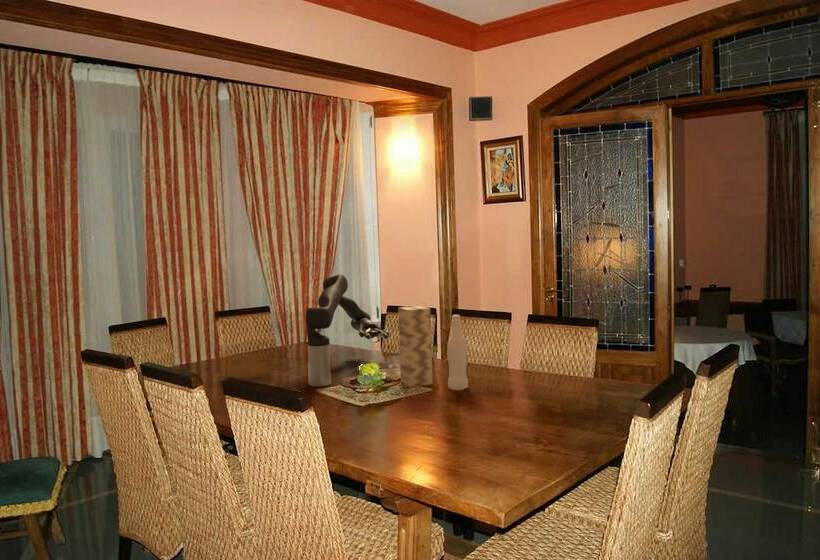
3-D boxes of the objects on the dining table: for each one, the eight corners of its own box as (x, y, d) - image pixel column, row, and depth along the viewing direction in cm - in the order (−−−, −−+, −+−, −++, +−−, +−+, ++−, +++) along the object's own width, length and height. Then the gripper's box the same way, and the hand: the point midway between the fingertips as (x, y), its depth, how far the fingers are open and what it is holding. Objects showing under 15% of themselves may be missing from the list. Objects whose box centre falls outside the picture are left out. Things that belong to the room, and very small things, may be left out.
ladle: (391, 368, 285) (389, 356, 285) (375, 369, 304) (374, 357, 305) (403, 367, 287) (402, 354, 288) (387, 367, 306) (386, 356, 307)
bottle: (461, 391, 256) (459, 316, 254) (444, 389, 261) (442, 315, 259) (471, 387, 262) (469, 314, 260) (455, 385, 267) (453, 313, 265)
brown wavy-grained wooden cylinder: (410, 386, 267) (407, 310, 264) (400, 381, 277) (398, 307, 275) (432, 384, 270) (430, 308, 268) (422, 378, 281) (419, 305, 278)
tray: (387, 381, 278) (387, 375, 278) (376, 375, 291) (376, 369, 290) (417, 377, 283) (417, 372, 283) (405, 371, 296) (405, 366, 296)
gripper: (355, 321, 319) (364, 329, 304) (383, 321, 324) (392, 329, 309) (354, 336, 320) (362, 345, 305) (381, 336, 325) (391, 344, 310)
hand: (377, 337), depth 307 cm, fingers open, 8 cm apart
